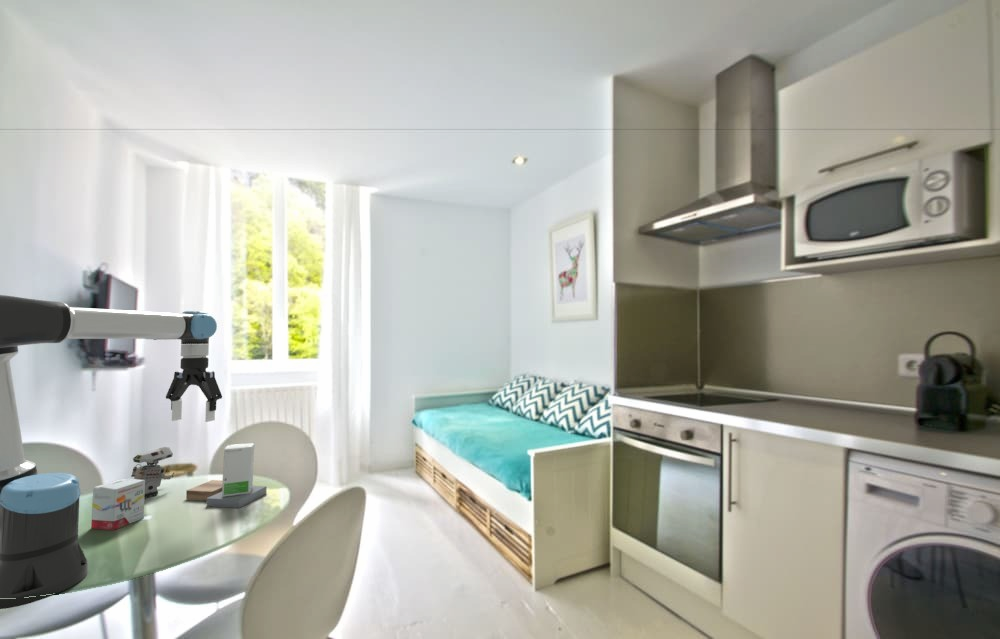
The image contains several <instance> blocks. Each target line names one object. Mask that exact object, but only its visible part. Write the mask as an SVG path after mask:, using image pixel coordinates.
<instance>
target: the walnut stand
mask: <svg viewBox="0 0 1000 639" xmlns="http://www.w3.org/2000/svg"><path fill="white" fill-rule="evenodd" d="M222 483H223V480H218V479H217V480H215V479H211V480H209V481H206V482H204V483H202V484H199V485H196V486H194V487H191V488H189V489H187V490H186V493H185V494H186V498H185V499H186V500H187V501H188V500H193V501H206V502H207V498H208V497H211V496H213V495H215V494H217V493H220V492H222Z"/></svg>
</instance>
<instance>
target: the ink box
mask: <svg viewBox="0 0 1000 639" xmlns="http://www.w3.org/2000/svg"><path fill="white" fill-rule="evenodd" d="M145 499H146V498H145V480H140V479H134V478H126V477H125V478H121V479H117V480H114V481H111V482H107V483H104V484H100V485H96V486H93V488H92V503H91V504H92V505H91V506H92V507H91V529H94V530H106V531H115V530H117V529H121V528H123V527H125V526H127V525H130V524H132V522H133V523H135V522H138V521H140V520H141V519H144V518H145Z"/></svg>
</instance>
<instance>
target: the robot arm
mask: <svg viewBox="0 0 1000 639" xmlns="http://www.w3.org/2000/svg"><path fill="white" fill-rule="evenodd" d="M217 324H218V323H217V321H216V319H215V318H214V317H213V316H212V315H210V314H209V313H208V312H206V311H202V310H201V311H196V310H187V311H182V313H176V312H174V313H173V312H159V311H158V312H157V311H143V310H142V311H141V310H125V309H112V308H110V309H107V308H93V307H79V306H69V305H68V304H67V303H65V302H63V301H54V300H51V301H50V300H42V299H35V298H34V299H33V298H27V297H19V296H15V295H14V296H12V295H4V294H0V598H16V599H0V610H4V609H11V608H16V607H20V606H25V605H28V604H31V603H35V602H38V601H41V600H44V599H47V598H50V597H52V596H53V595H46V594H53V593H57V594H59V593H61V591H62V592H64V591H66V590H68V589H70V588H72V587H73V586H75V585H76V584H78V583H79V582H81V581H82V580H84V578H85V577H86V576H87V575H88V571H89V570H88V569H89V568H88V567H89V562H88V560H87V558H86V556H85V553H84V551H83V549H82V548H81V545H80V543H79V523H80V522H79V518H80V517H79V516H80V513H79V512H80V497H81V493H82V492H81V488H80V480H79V479H78V477H77V476H75V475H74V474H71V473H67V472H66V473H65V472H54V473H51V472H46V473H38V470H37V464H36V463H35V462H34V461H31V460H27V459H26V458H25V451H24V445H23V438H22V433H21V432H22V431H21V427H20V419H19V413H18V407H17V400H16V393H15V389H14V388H15V387H14V383H13V376H12V368H11V360H12V359H13V358H14V357H15V356H16V355H18V354H19V348H18V347H19V346H20V347H21V346H26V345H36V344H37V345H39V344H60V343H63V342H64V341H65V340H70V339H71V340H73V339H74V340H77V339H79V340H80V339H82V340H84V339H85V340H87V339H89V340H99V339H100V340H102V339H103V340H104V339H105V340H109V339H110V340H111V339H114V340H115V339H116V340H118V339H119V340H120V339H121V340H123V339H124V340H128V339H129V340H132V339H133V340H135V339H136V340H137V339H138V340H142V339H144V340H153V341H156V340H167V341H168V340H180V357H181V359H180V366H179V367H180V369H181V371H180V370H179V371H174V374H173V379H172V381H171V384H170V386H169V389H167V390H168V391H167V392H166V395H165V399H166V400H167V399H168V400H170V402H171V404H170V405H171V406H170V409H171V421H173V422H175V421H178V420H179V421H180V420H182V413H183V412H182V408H183V400H182V396H183V395H184V394H185V392H186V391H187V389H188V388H189V387H190V386H197V387H198V388H199V389H200V390H201V392H202V393H203V395H204V397H205V398H206V399H207V400H206V401H205V421H204V422H206V423H208V422H212V421H215V418H216V417H215V416H216V410H217V401H218V400H220V399H221V400H222V398H223V395H222V392H221V390H220V387H219V385H218V382H217V380H216V377H215V376H216V375H215V371H214V370H210V371H207V370H206V369H208V368H209V357H207V356H209V349H210V348H209V345H210V344H209V343H210V342H209V341H210V338H211V337H213V336H214V334H216V332H217V328H218V326H217ZM40 595H46V596H40ZM29 596H36V597H29ZM24 597H29V598H24Z"/></svg>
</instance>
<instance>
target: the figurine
mask: <svg viewBox="0 0 1000 639" xmlns="http://www.w3.org/2000/svg"><path fill="white" fill-rule="evenodd" d="M173 455H174V454H173V452H172V450H171V448H170V447H167V446H164V447H160V448H157V449H154V450H150V451H146V452H143V453H140V454H136V455H135V456H133V458H132V460H133V463H136V465H135V466H133V468H132V472H131V473H132V474H131V475H130V476H131V477H132V478H133V479H140V480H145V498H144V499H146V498H149V497H154V496H157V495H158V494H159V491H158V487H160V486H161V483H162V480H171V478H173V477H174V476H175V475H174V474H175V472H173V473H172V474H171V475H165V474H167V473H170V470H168V469H166V470H165V467H164V466H161V465H159V462H160V461H163V460H165V459H171V458H172V457H173ZM142 463H146V465H143V466H142ZM137 466H138V467H137Z"/></svg>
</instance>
